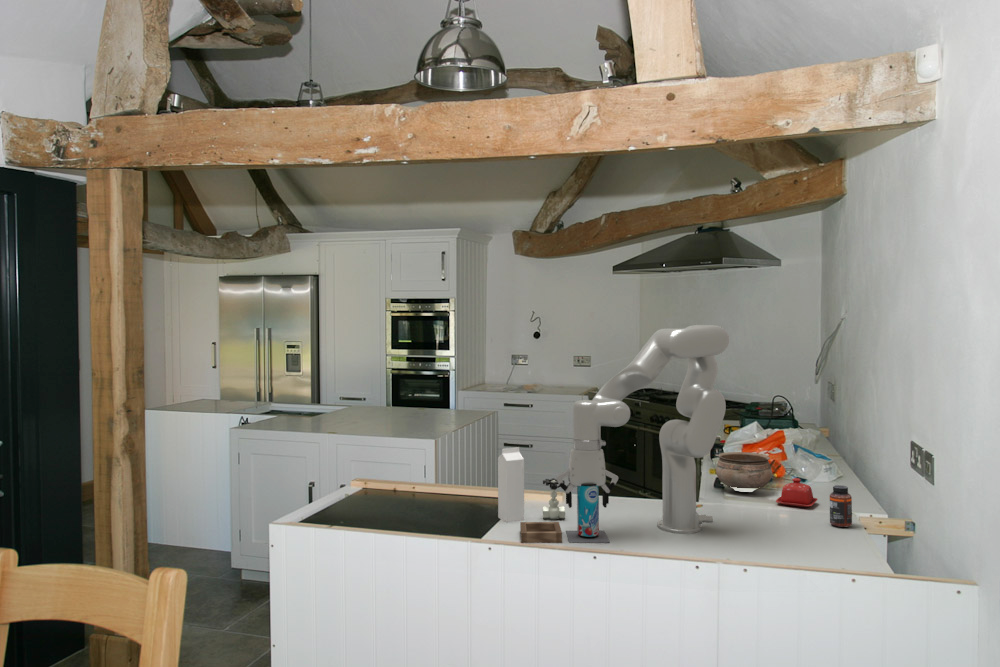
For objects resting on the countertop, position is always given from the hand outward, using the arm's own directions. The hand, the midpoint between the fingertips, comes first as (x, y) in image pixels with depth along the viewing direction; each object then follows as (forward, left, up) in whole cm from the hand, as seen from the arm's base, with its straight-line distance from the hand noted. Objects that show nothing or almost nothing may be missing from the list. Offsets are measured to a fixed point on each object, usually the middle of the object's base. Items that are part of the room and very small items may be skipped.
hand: (587, 506), depth 202 cm
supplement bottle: (-76, -12, -9) cm, 77 cm away
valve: (+8, -19, -9) cm, 23 cm away
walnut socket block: (+13, 0, -9) cm, 16 cm away
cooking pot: (-62, -56, -9) cm, 84 cm away
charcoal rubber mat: (0, 0, -9) cm, 9 cm away
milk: (+21, -19, -9) cm, 30 cm away
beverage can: (0, 0, -8) cm, 9 cm away
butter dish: (-73, -38, -9) cm, 83 cm away
